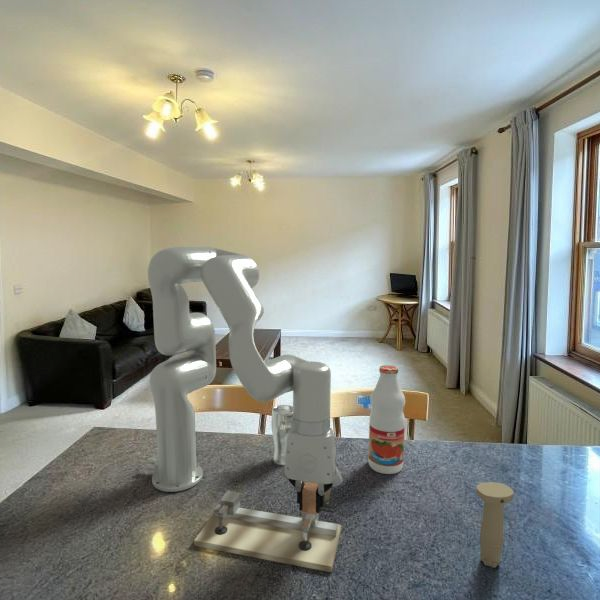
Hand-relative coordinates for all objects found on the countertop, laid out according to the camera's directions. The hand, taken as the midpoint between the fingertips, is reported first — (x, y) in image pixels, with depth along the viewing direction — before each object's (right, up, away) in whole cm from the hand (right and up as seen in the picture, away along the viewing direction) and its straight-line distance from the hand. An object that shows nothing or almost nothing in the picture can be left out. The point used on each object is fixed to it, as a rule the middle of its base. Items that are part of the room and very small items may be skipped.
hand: (310, 507), depth 86 cm
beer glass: (-7, -2, +31) cm, 32 cm away
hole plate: (-8, -6, 0) cm, 11 cm away
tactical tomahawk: (+6, -5, +18) cm, 20 cm away
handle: (+34, -8, -7) cm, 36 cm away
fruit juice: (+21, -3, +28) cm, 36 cm away
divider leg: (0, -5, -1) cm, 5 cm away
